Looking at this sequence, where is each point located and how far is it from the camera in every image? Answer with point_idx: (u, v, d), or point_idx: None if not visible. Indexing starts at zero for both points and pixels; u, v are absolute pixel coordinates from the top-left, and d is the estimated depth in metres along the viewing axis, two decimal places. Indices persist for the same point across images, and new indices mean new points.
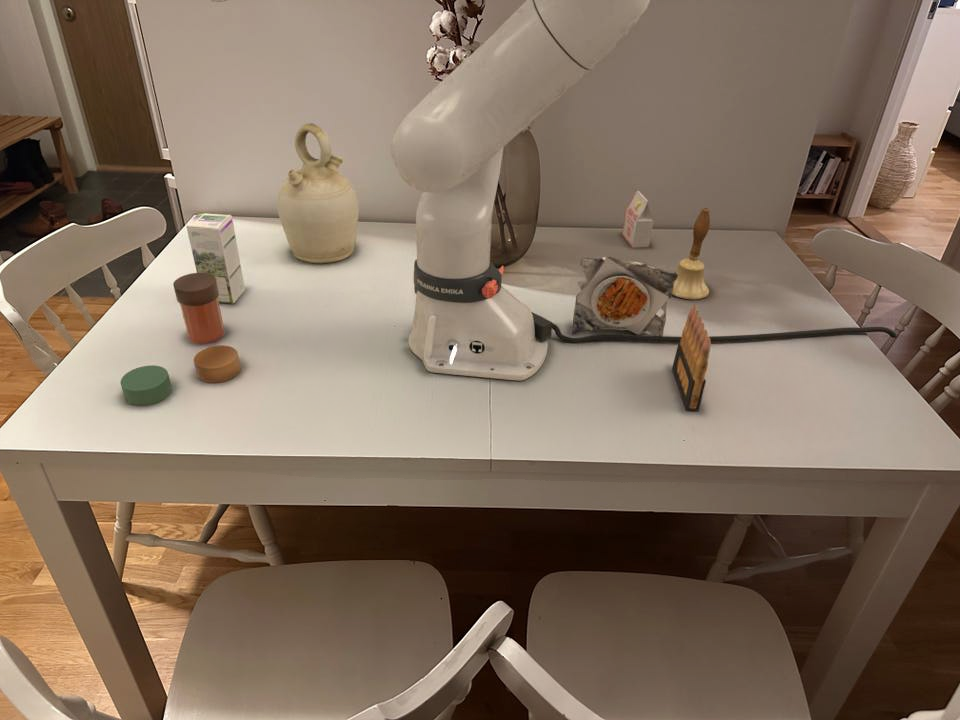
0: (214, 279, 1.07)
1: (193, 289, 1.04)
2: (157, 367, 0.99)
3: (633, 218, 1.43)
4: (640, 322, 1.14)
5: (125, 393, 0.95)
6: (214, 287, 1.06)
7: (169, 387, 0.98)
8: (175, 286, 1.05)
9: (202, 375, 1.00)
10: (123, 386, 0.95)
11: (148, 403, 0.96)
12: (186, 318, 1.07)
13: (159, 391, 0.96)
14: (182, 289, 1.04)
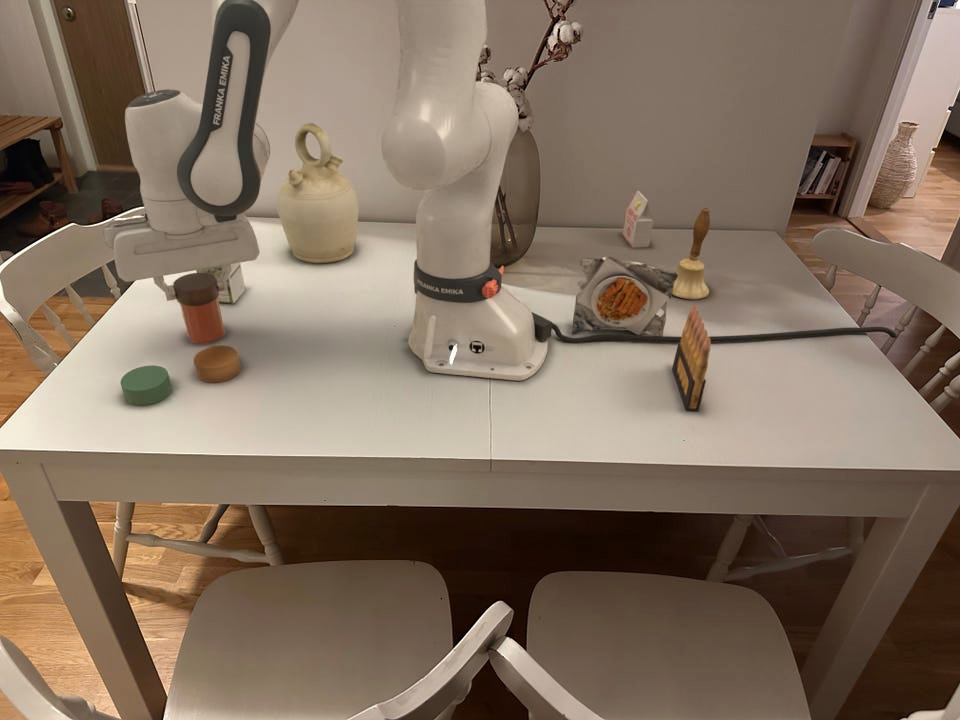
0: (214, 279, 1.07)
1: (194, 289, 1.04)
2: (157, 367, 0.99)
3: (633, 218, 1.43)
4: (640, 322, 1.14)
5: (125, 393, 0.95)
6: (214, 287, 1.06)
7: (169, 387, 0.98)
8: (175, 286, 1.05)
9: (202, 375, 1.00)
10: (123, 386, 0.95)
11: (148, 403, 0.96)
12: (186, 318, 1.07)
13: (159, 391, 0.96)
14: (182, 289, 1.04)
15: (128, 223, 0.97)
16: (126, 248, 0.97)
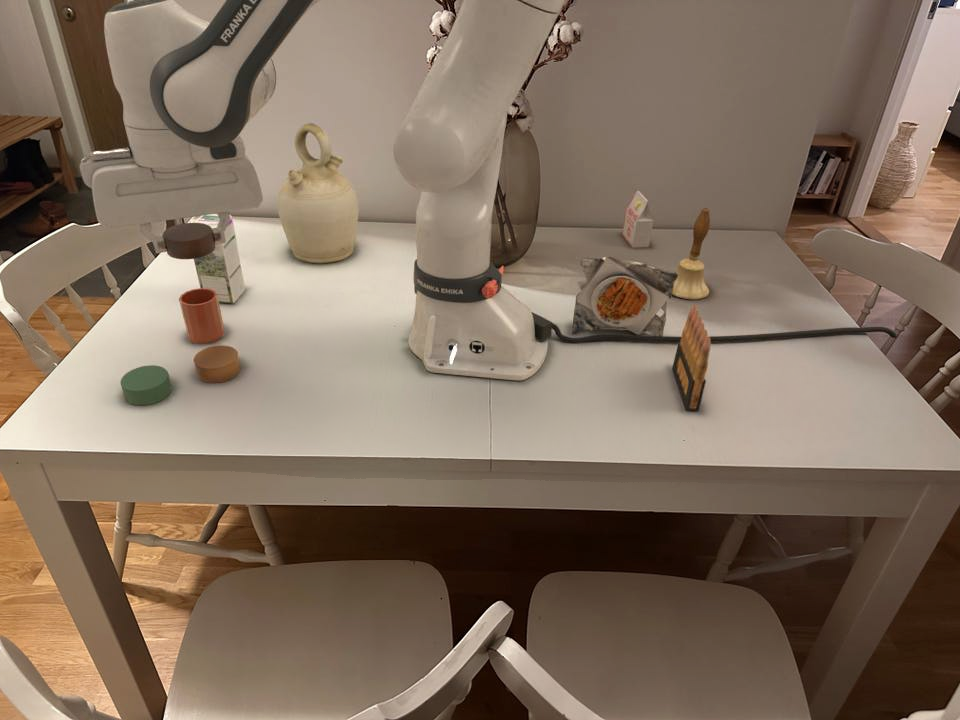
0: (210, 229, 0.92)
1: (186, 239, 0.90)
2: (157, 367, 0.99)
3: (633, 218, 1.43)
4: (640, 322, 1.14)
5: (125, 393, 0.95)
6: (210, 238, 0.92)
7: (169, 387, 0.98)
8: (165, 236, 0.90)
9: (202, 375, 1.00)
10: (123, 386, 0.95)
11: (148, 403, 0.96)
12: (186, 318, 1.07)
13: (159, 391, 0.96)
14: (173, 239, 0.90)
15: (109, 158, 0.83)
16: (107, 187, 0.83)
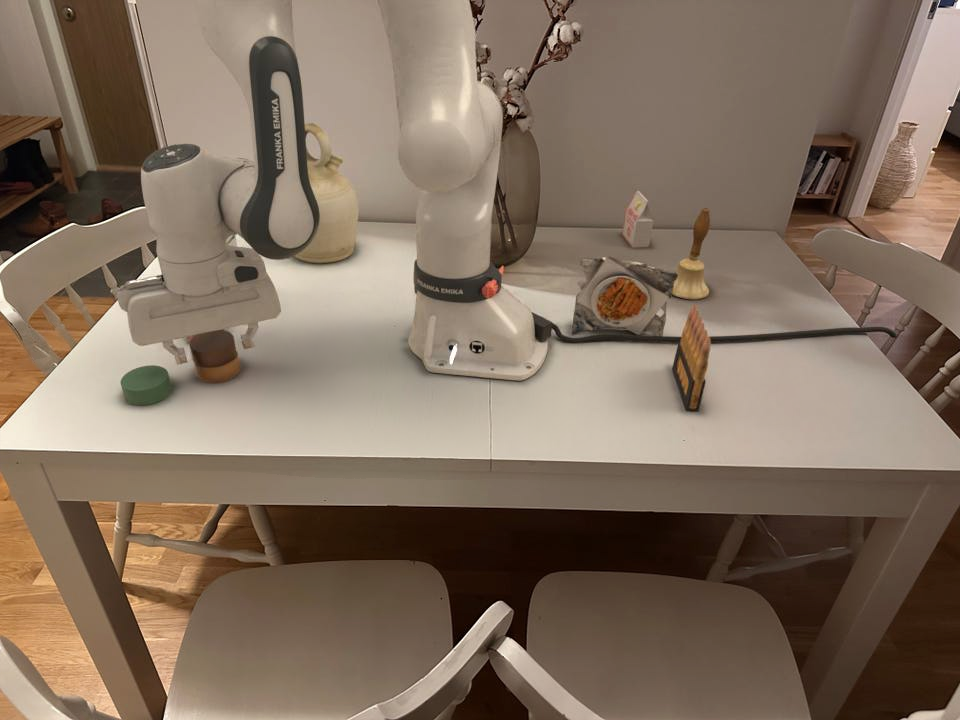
0: (232, 338, 1.01)
1: (211, 349, 0.98)
2: (157, 367, 0.99)
3: (633, 218, 1.43)
4: (640, 322, 1.14)
5: (125, 393, 0.95)
6: (232, 346, 1.00)
7: (169, 387, 0.98)
8: (191, 346, 0.99)
9: (202, 375, 1.00)
10: (123, 386, 0.95)
11: (148, 403, 0.96)
12: None
13: (159, 391, 0.96)
14: (199, 350, 0.98)
15: (143, 286, 0.91)
16: (141, 312, 0.91)
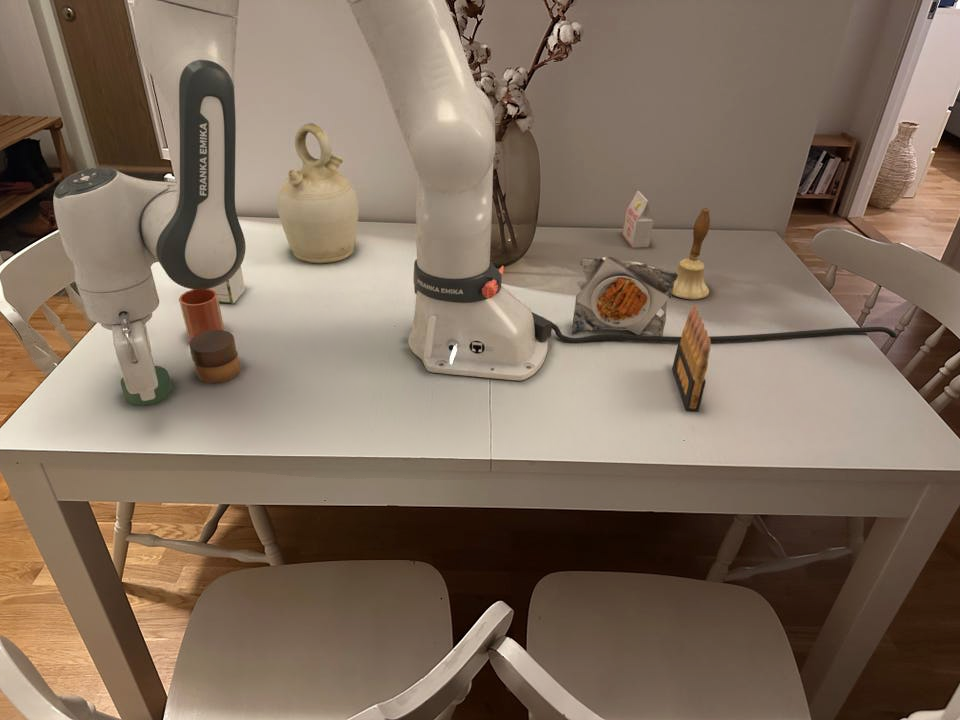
0: (232, 338, 1.01)
1: (211, 349, 0.98)
2: (157, 367, 0.99)
3: (633, 218, 1.43)
4: (640, 322, 1.14)
5: (125, 393, 0.95)
6: (232, 346, 1.00)
7: (169, 387, 0.98)
8: (191, 346, 0.99)
9: (202, 375, 1.00)
10: (123, 386, 0.95)
11: (148, 403, 0.96)
12: (186, 318, 1.07)
13: (159, 391, 0.96)
14: (199, 350, 0.98)
15: None
16: None
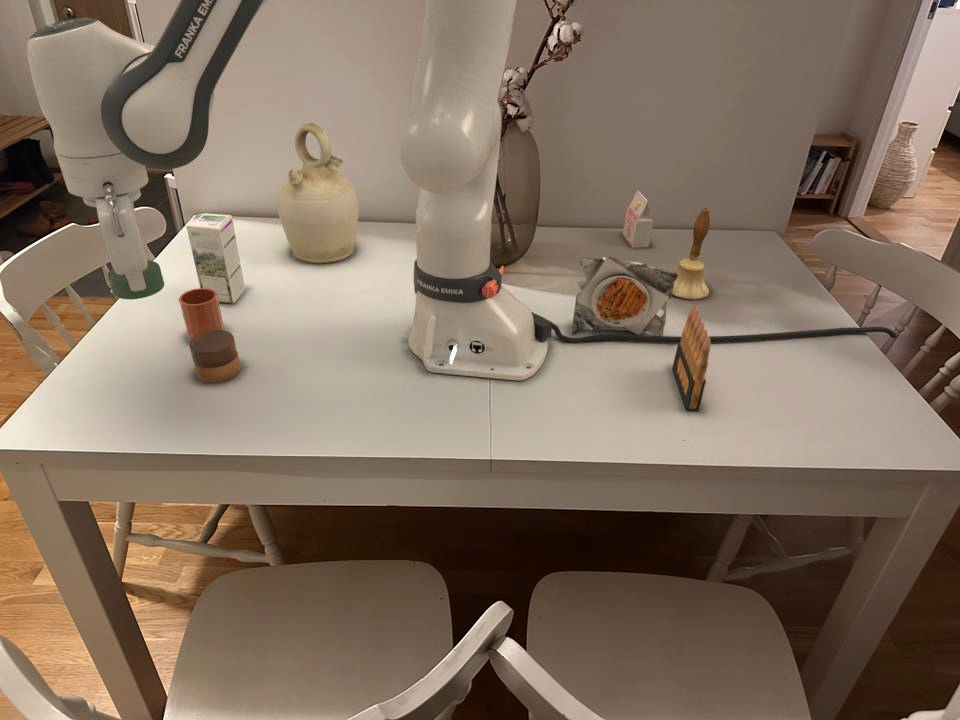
0: (232, 338, 1.01)
1: (211, 349, 0.98)
2: (148, 261, 0.91)
3: (633, 218, 1.43)
4: (640, 322, 1.14)
5: (113, 285, 0.87)
6: (232, 346, 1.00)
7: (161, 281, 0.90)
8: (191, 346, 0.99)
9: (202, 375, 1.00)
10: (110, 277, 0.87)
11: (138, 297, 0.88)
12: (186, 318, 1.07)
13: (149, 284, 0.88)
14: (199, 350, 0.98)
15: None
16: None
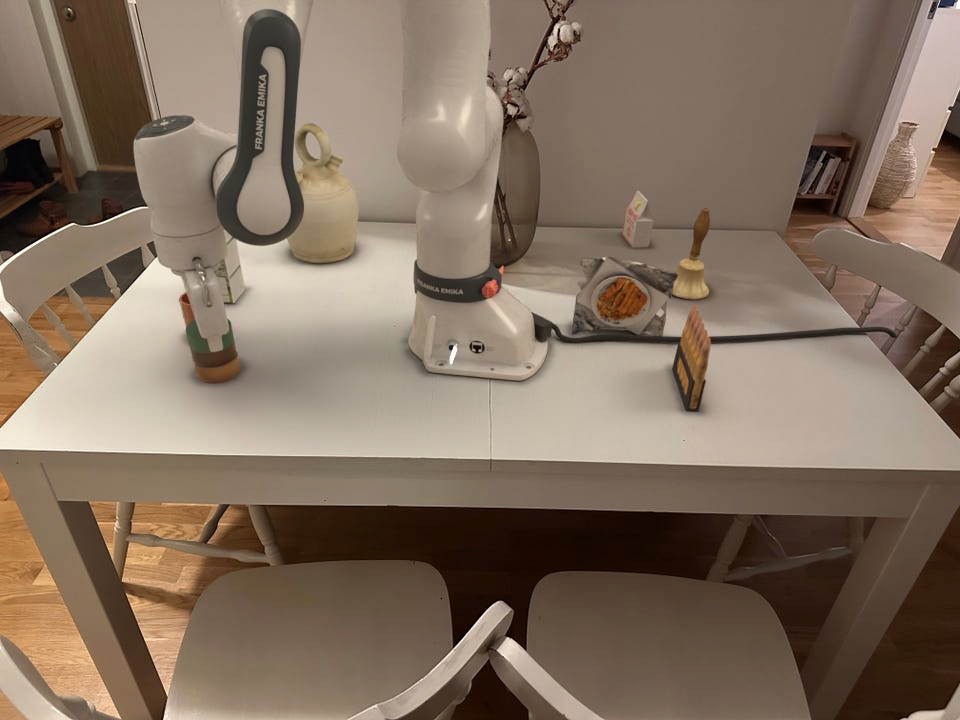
0: None
1: None
2: None
3: (633, 218, 1.43)
4: (640, 322, 1.14)
5: (190, 340, 0.97)
6: (232, 346, 1.00)
7: (232, 336, 1.00)
8: None
9: (202, 375, 1.00)
10: (189, 333, 0.97)
11: None
12: (186, 318, 1.07)
13: (223, 339, 0.98)
14: None
15: None
16: None
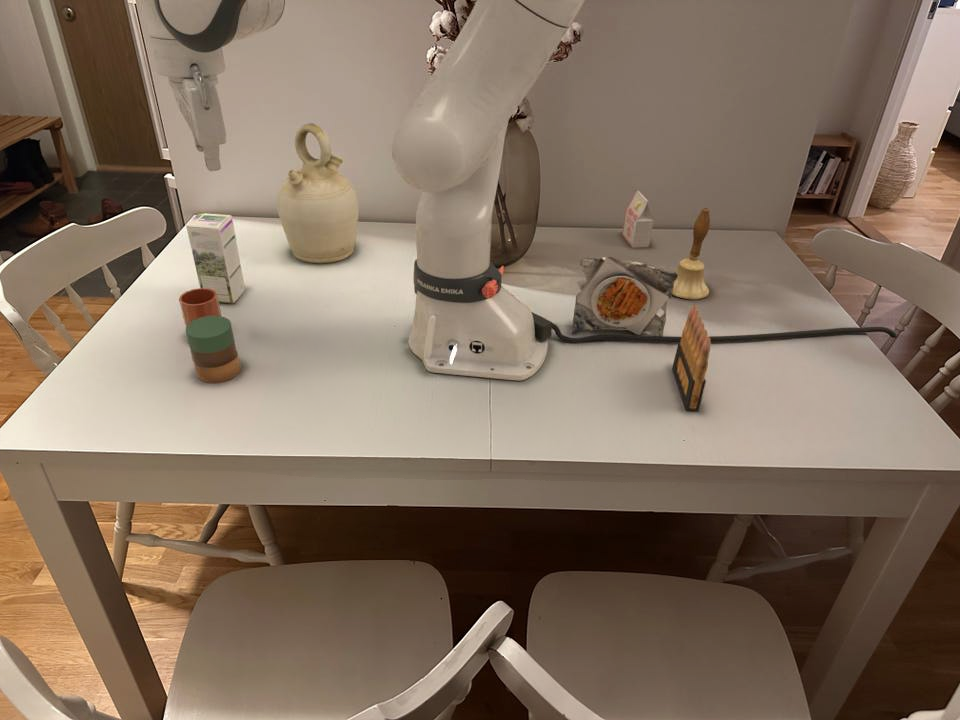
0: None
1: None
2: (219, 317, 1.01)
3: (633, 218, 1.43)
4: (640, 322, 1.14)
5: (190, 340, 0.97)
6: (232, 346, 1.00)
7: (232, 336, 1.00)
8: None
9: (202, 375, 1.00)
10: (189, 333, 0.97)
11: (213, 351, 0.98)
12: (186, 318, 1.07)
13: (223, 339, 0.98)
14: None
15: None
16: None
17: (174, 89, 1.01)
